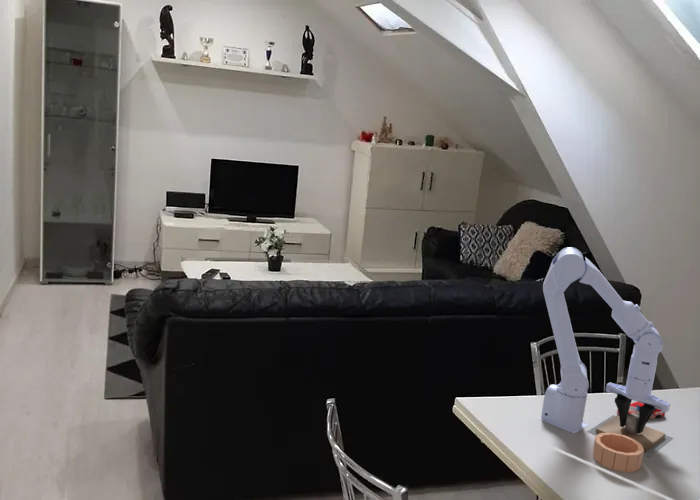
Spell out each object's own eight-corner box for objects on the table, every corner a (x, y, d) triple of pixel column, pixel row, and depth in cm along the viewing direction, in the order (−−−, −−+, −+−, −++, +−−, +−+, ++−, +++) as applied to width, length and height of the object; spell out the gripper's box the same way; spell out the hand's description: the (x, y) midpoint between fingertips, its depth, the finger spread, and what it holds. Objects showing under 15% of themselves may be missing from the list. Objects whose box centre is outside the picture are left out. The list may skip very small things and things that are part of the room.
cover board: (595, 432, 162) (598, 413, 161) (616, 418, 171) (619, 400, 170) (645, 452, 154) (649, 432, 153) (664, 437, 163) (668, 418, 162)
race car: (625, 424, 170) (627, 410, 169) (611, 415, 175) (613, 400, 174) (667, 421, 174) (670, 407, 173) (653, 412, 179) (655, 398, 178)
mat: (586, 433, 162) (586, 431, 162) (612, 417, 173) (613, 415, 173) (649, 459, 152) (649, 457, 152) (672, 440, 163) (673, 438, 163)
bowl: (584, 459, 150) (587, 441, 149) (603, 446, 157) (607, 428, 156) (628, 479, 143) (632, 459, 142) (647, 464, 150) (650, 445, 149)
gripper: (678, 382, 157) (668, 435, 160) (618, 362, 167) (609, 413, 170) (667, 389, 152) (657, 444, 155) (605, 369, 162) (597, 420, 165)
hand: (631, 428), depth 162 cm, fingers open, 3 cm apart
